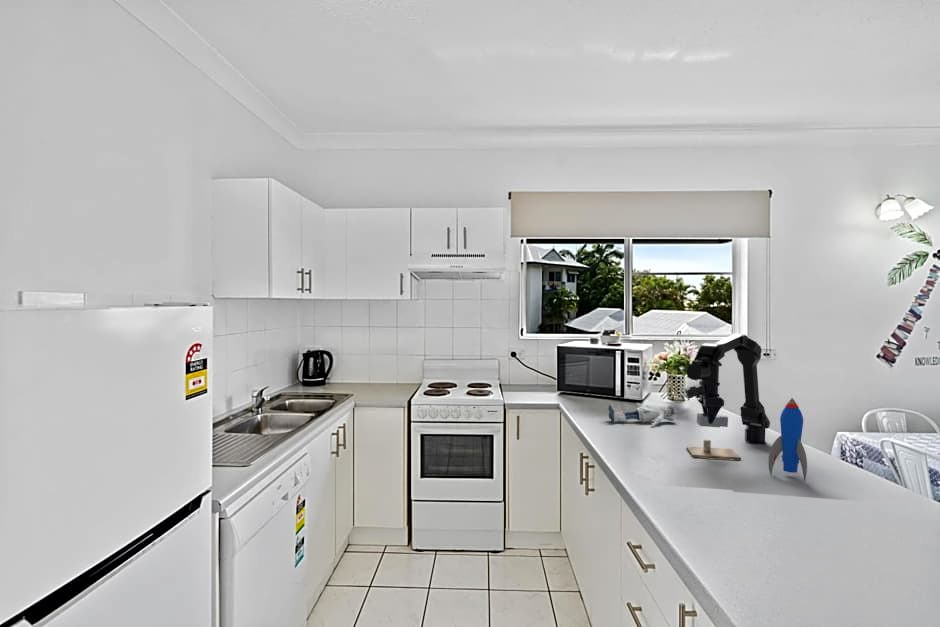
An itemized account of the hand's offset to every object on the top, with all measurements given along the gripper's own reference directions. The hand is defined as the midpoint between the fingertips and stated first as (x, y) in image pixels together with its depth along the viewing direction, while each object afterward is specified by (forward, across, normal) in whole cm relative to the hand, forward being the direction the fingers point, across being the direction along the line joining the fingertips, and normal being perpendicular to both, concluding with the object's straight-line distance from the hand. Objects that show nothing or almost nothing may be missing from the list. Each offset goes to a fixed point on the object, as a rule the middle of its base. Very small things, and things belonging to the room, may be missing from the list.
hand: (708, 421), depth 211 cm
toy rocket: (+12, +22, +19) cm, 32 cm away
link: (+1, 0, +1) cm, 2 cm away
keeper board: (+12, 0, +2) cm, 12 cm away
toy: (+11, -51, -17) cm, 55 cm away
